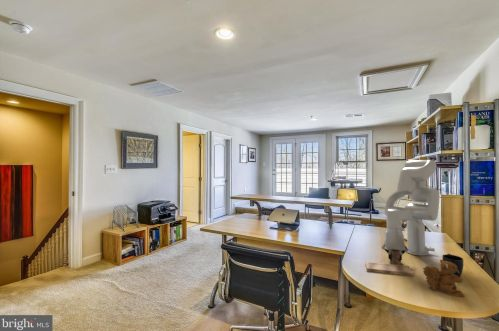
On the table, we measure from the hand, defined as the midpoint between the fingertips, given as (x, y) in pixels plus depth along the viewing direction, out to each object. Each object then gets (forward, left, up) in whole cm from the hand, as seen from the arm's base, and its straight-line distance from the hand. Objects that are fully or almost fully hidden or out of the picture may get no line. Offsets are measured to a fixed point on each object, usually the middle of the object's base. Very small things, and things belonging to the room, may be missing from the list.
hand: (395, 260), depth 143 cm
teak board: (+6, +13, -1) cm, 14 cm away
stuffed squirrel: (-14, +29, -1) cm, 32 cm away
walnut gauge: (0, +3, -1) cm, 3 cm away
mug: (-24, +10, -1) cm, 26 cm away
